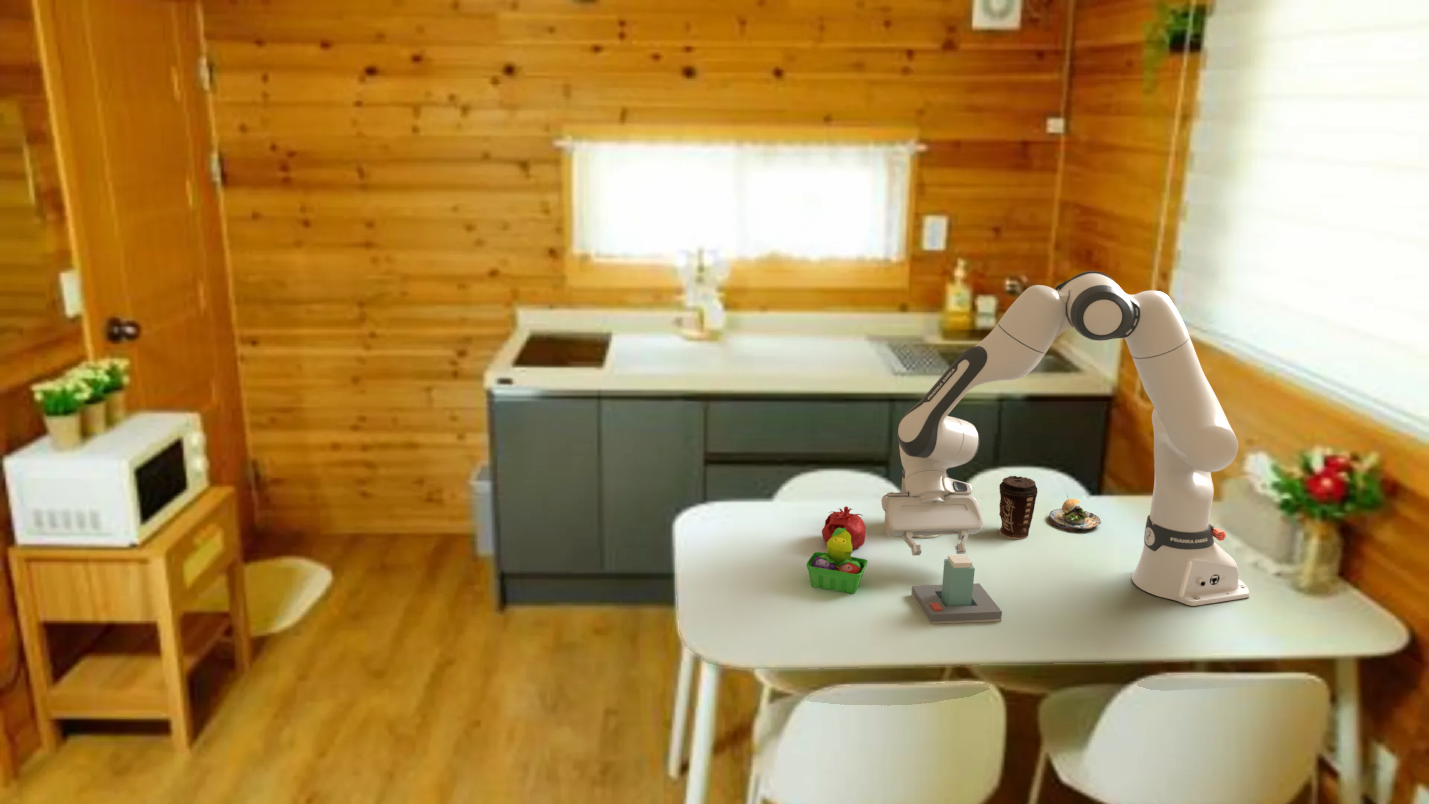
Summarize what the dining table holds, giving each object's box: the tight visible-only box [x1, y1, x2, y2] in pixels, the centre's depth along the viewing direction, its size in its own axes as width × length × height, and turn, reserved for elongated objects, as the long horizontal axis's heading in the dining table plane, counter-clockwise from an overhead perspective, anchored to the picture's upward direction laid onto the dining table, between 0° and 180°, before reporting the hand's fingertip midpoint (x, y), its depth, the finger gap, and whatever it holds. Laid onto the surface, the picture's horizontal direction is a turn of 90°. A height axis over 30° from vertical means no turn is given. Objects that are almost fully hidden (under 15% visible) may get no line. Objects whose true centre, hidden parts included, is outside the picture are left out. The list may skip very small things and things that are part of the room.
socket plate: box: [911, 582, 1003, 625], centre depth 205 cm, size 14×12×2 cm
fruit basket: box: [805, 528, 868, 595], centre depth 212 cm, size 11×9×11 cm
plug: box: [941, 554, 976, 607], centre depth 203 cm, size 4×4×10 cm
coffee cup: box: [998, 475, 1038, 540], centre depth 239 cm, size 9×8×13 cm
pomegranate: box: [821, 506, 866, 551], centre depth 231 cm, size 10×10×9 cm
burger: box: [1048, 492, 1102, 534], centre depth 246 cm, size 12×12×8 cm
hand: (939, 553), depth 213 cm, fingers open, 8 cm apart
